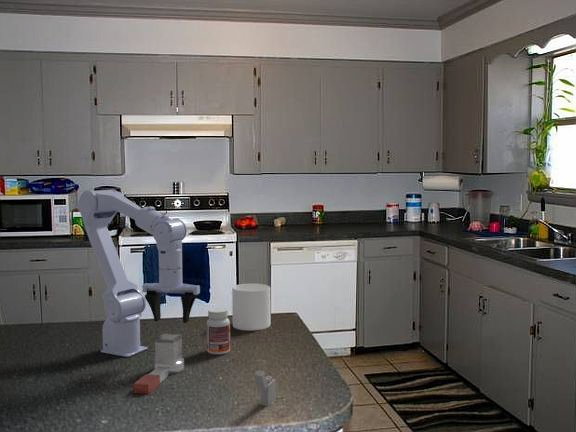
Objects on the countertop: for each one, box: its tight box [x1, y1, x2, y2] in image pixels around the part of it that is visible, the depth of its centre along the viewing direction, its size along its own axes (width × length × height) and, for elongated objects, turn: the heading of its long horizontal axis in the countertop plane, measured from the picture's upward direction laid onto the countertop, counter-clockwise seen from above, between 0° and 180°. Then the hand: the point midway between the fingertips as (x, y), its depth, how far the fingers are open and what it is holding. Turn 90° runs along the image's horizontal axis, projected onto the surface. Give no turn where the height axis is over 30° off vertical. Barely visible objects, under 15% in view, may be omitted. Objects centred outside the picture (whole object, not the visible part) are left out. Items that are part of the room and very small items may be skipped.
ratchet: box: [133, 357, 185, 395], centre depth 138 cm, size 19×7×5 cm, turn 168°
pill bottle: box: [206, 307, 231, 355], centre depth 157 cm, size 6×6×11 cm
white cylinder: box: [231, 283, 272, 332], centre depth 182 cm, size 12×12×12 cm
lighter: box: [253, 369, 277, 407], centre depth 122 cm, size 7×2×8 cm, turn 157°
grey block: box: [154, 333, 183, 365], centre depth 143 cm, size 5×5×6 cm
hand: (171, 321), depth 149 cm, fingers open, 7 cm apart
